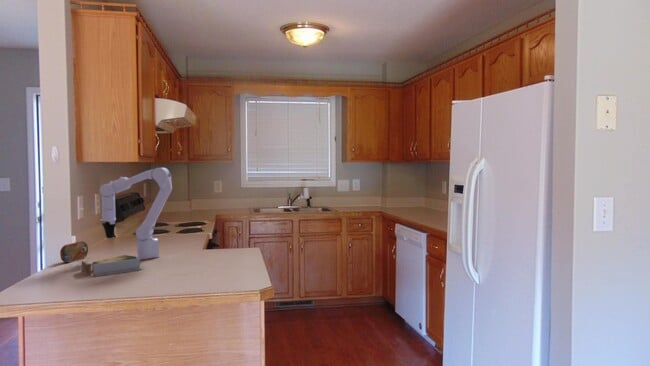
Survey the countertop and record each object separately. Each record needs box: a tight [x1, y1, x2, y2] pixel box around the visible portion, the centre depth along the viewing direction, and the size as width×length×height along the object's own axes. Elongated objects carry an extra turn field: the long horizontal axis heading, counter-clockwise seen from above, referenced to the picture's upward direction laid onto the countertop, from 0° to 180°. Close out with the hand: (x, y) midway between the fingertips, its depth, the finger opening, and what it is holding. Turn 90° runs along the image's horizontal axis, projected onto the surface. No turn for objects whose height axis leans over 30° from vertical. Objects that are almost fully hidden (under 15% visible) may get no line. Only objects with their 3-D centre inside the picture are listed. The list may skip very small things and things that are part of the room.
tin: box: [59, 240, 89, 263], centre depth 210 cm, size 15×3×8 cm, turn 168°
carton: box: [91, 254, 137, 269], centre depth 197 cm, size 8×16×4 cm, turn 152°
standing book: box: [81, 259, 92, 277], centre depth 186 cm, size 2×9×5 cm, turn 38°
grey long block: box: [92, 258, 143, 277], centre depth 188 cm, size 18×3×4 cm, turn 128°
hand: (109, 237), depth 214 cm, fingers closed
